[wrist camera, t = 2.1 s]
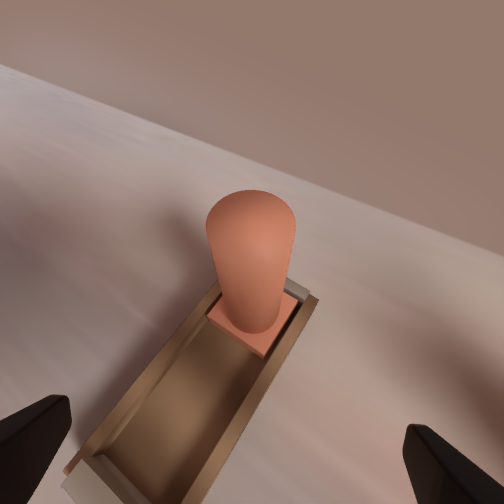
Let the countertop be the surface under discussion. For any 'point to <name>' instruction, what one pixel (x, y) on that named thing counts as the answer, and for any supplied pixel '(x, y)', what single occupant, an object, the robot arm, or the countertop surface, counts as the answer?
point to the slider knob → (251, 267)
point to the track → (181, 413)
